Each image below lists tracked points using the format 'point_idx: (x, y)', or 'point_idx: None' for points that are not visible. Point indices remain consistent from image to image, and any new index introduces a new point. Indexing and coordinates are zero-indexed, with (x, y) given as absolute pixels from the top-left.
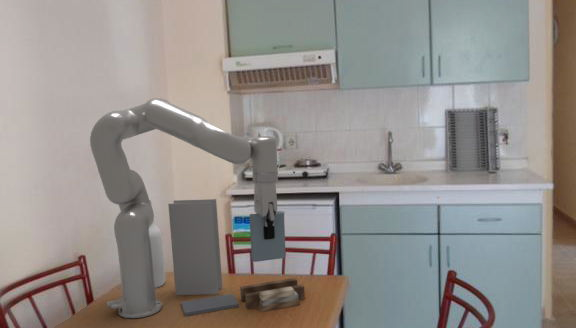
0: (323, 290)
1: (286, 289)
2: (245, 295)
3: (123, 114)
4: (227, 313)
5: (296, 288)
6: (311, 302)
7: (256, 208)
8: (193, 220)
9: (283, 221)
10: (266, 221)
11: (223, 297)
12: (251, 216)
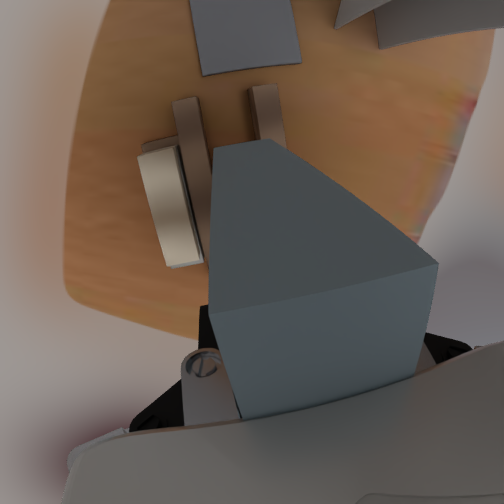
0: None
1: (175, 243)
2: (191, 97)
3: None
4: (160, 45)
5: None
6: (186, 286)
7: (435, 454)
8: None
9: None
10: (188, 408)
11: (275, 32)
12: (260, 295)
